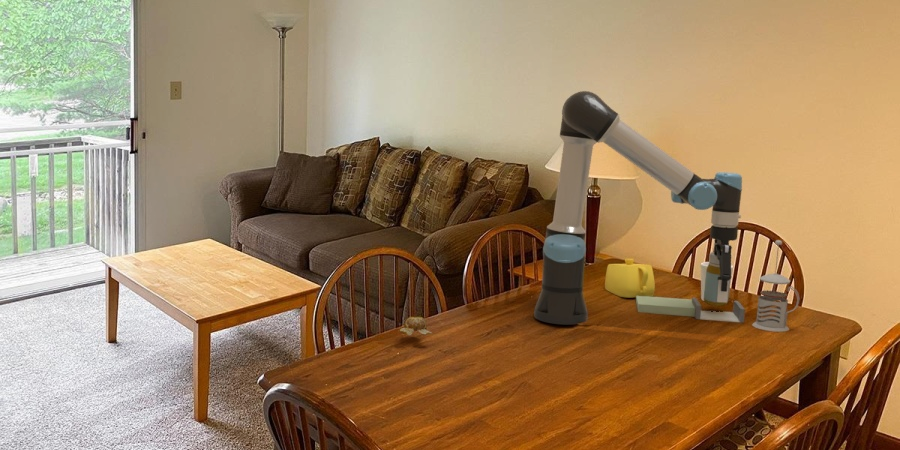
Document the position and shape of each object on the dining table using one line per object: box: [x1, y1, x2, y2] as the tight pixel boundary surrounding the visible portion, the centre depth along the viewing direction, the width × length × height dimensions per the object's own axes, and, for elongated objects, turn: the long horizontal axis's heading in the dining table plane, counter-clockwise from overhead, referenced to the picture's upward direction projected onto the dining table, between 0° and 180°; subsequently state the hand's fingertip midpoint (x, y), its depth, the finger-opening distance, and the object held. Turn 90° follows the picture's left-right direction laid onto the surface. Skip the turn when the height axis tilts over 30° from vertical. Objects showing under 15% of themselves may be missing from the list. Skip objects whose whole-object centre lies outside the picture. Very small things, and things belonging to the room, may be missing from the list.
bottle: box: [703, 251, 731, 307], centre depth 236 cm, size 7×7×15 cm
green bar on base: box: [635, 296, 746, 324], centre depth 237 cm, size 30×15×4 cm, turn 80°
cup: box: [700, 261, 734, 302], centre depth 249 cm, size 10×10×13 cm
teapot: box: [604, 258, 656, 299], centre depth 255 cm, size 20×12×12 cm, turn 22°
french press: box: [751, 239, 800, 333], centre depth 222 cm, size 10×12×25 cm
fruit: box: [399, 316, 433, 336], centre depth 204 cm, size 8×8×4 cm
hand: (718, 297), depth 233 cm, fingers open, 13 cm apart
